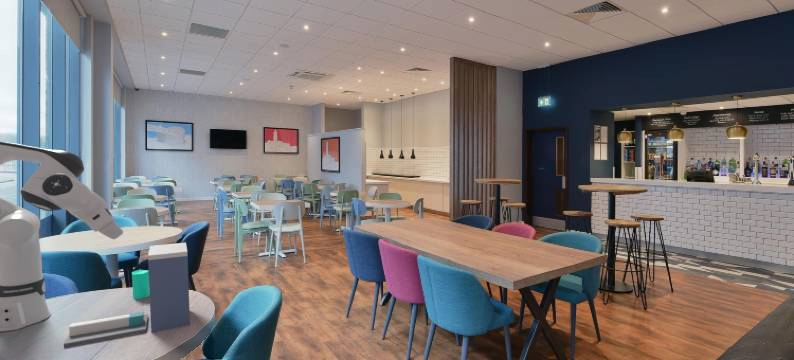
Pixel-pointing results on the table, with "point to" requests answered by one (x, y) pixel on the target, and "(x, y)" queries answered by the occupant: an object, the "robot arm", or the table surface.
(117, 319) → the white and teal box
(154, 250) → the tall slate-blue pillar
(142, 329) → the board
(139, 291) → the candle
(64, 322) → the table surface
